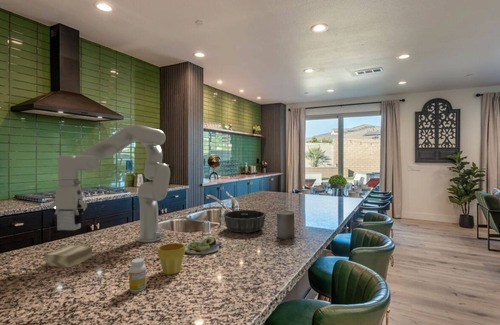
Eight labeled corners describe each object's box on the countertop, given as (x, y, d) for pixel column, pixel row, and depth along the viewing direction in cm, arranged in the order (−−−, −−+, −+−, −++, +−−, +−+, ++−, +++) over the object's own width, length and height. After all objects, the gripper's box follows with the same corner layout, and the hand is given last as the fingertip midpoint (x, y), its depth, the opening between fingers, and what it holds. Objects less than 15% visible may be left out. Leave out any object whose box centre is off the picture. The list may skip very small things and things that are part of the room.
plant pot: (163, 266, 114) (162, 242, 114) (188, 266, 114) (187, 242, 114) (153, 276, 104) (153, 250, 104) (181, 276, 104) (180, 250, 104)
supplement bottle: (132, 285, 97) (132, 257, 97) (148, 284, 98) (147, 257, 98) (127, 292, 92) (126, 263, 92) (143, 291, 92) (143, 262, 92)
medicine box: (81, 228, 123) (80, 208, 123) (73, 230, 118) (73, 210, 118) (64, 227, 124) (64, 208, 123) (56, 230, 119) (56, 210, 119)
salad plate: (220, 257, 125) (220, 247, 125) (180, 258, 125) (180, 248, 125) (222, 244, 145) (222, 235, 144) (188, 244, 144) (188, 236, 144)
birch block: (92, 258, 126) (91, 247, 125) (69, 268, 114) (69, 256, 114) (70, 256, 128) (70, 245, 128) (45, 266, 117) (45, 254, 117)
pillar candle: (294, 234, 160) (293, 208, 160) (295, 239, 151) (294, 211, 151) (277, 234, 161) (276, 208, 161) (277, 239, 152) (276, 211, 152)
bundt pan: (251, 238, 154) (251, 220, 154) (214, 231, 168) (214, 215, 168) (273, 227, 177) (273, 212, 177) (239, 223, 191) (239, 208, 191)
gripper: (92, 182, 123) (93, 221, 124) (56, 182, 125) (57, 221, 125) (80, 184, 116) (81, 225, 116) (42, 184, 118) (43, 225, 118)
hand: (69, 223), depth 121 cm, fingers closed on medicine box, 8 cm apart
